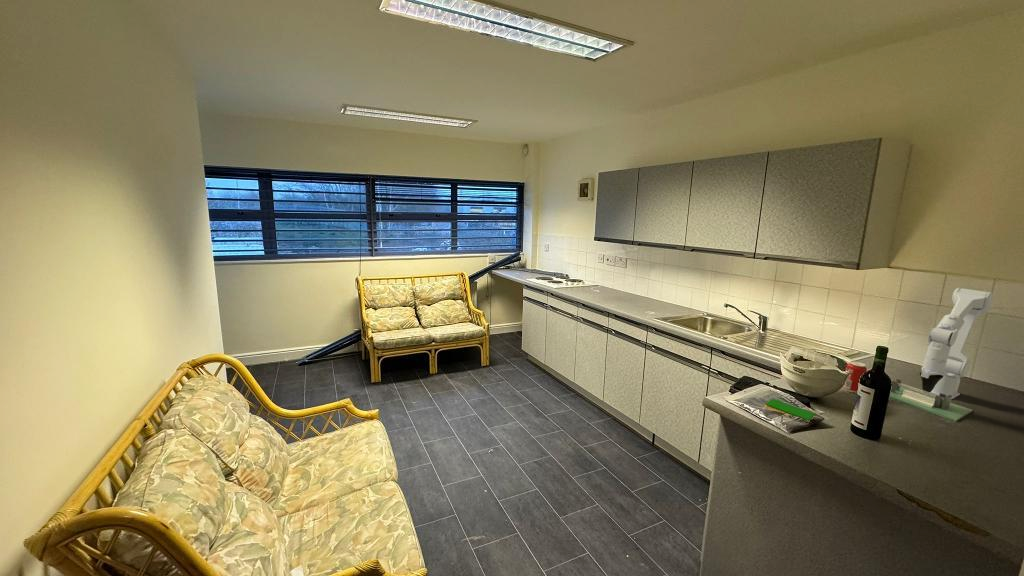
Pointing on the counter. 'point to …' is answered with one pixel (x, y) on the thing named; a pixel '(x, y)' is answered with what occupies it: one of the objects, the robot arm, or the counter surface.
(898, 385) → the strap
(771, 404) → the dish sponge
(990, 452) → the counter surface
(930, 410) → the heatsink board
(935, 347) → the robot arm
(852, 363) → the beverage can
